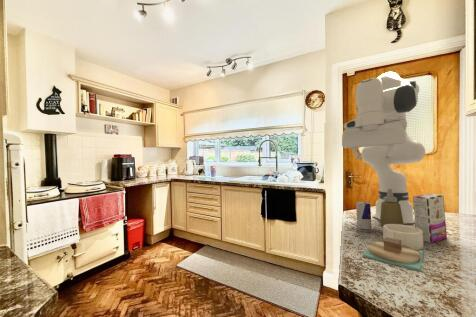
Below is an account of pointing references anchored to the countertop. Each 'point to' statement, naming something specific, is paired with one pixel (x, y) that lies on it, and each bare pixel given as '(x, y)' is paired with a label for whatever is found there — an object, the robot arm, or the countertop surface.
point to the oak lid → (394, 251)
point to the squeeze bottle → (390, 210)
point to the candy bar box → (430, 216)
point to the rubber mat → (407, 265)
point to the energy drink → (363, 216)
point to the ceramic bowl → (405, 235)
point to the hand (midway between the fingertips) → (372, 158)
